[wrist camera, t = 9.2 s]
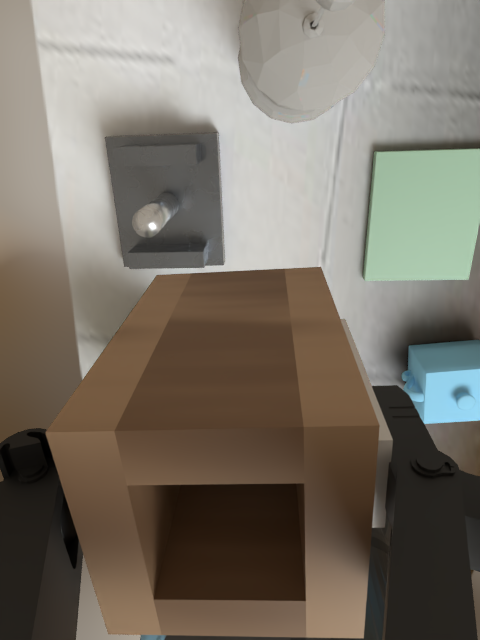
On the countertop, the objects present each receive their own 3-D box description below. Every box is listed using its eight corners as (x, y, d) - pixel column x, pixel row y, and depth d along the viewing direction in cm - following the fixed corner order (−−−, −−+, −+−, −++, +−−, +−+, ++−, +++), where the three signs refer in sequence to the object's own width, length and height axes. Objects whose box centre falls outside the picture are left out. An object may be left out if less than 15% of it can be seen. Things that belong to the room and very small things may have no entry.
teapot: (508, 332, 46) (549, 369, 40) (501, 381, 49) (539, 423, 42) (391, 342, 48) (412, 380, 41) (391, 389, 50) (410, 432, 43)
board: (464, 276, 44) (468, 279, 43) (362, 277, 45) (364, 280, 44) (488, 147, 39) (494, 148, 38) (374, 151, 40) (376, 152, 39)
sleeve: (320, 405, 18) (363, 638, 10) (177, 409, 19) (108, 634, 10) (321, 266, 16) (379, 425, 8) (156, 275, 16) (45, 432, 8)
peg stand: (224, 260, 45) (214, 295, 36) (128, 262, 45) (96, 296, 37) (218, 132, 40) (205, 137, 31) (110, 136, 40) (67, 141, 32)
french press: (260, 140, 40) (251, 172, 17) (212, -6, 35) (115, -223, 13) (368, 97, 38) (518, 70, 15) (331, -63, 33) (467, -436, 11)
